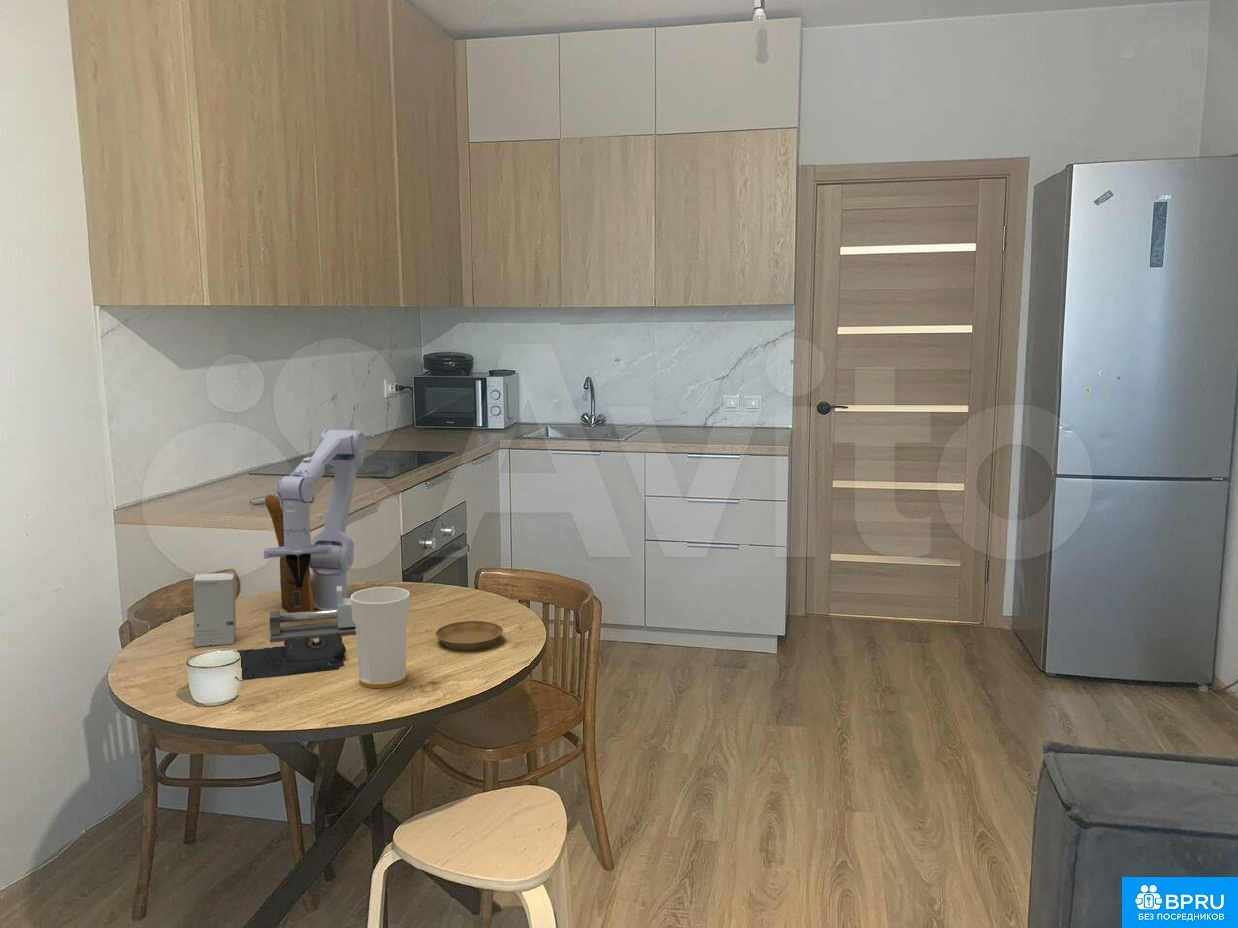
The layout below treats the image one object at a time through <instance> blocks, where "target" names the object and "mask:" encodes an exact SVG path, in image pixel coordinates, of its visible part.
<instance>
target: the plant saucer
mask: <svg viewBox="0 0 1238 928" xmlns="http://www.w3.org/2000/svg"><path fill="white" fill-rule="evenodd" d="M503 632H504V629H503V627H502V626H501V625H499V624H497V623H494V622H490V621H483V620H482V621H481V620H463V621H455V622H451V623H448V624H445V625H442V626H440V627H439V628H438V629H437V630H435V632H434V633H435V636H436V638H437V639H438V640H439V642H440V643H442V644H443V645H445V647H447V648H448V649H452V650H457V651H474V650H482V649H485V648H488V647H490V646H492V645H493V644H494V643H495V642H497V640H498V639H499V638H500V637H501V636H502V634H504V633H503Z"/></svg>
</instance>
